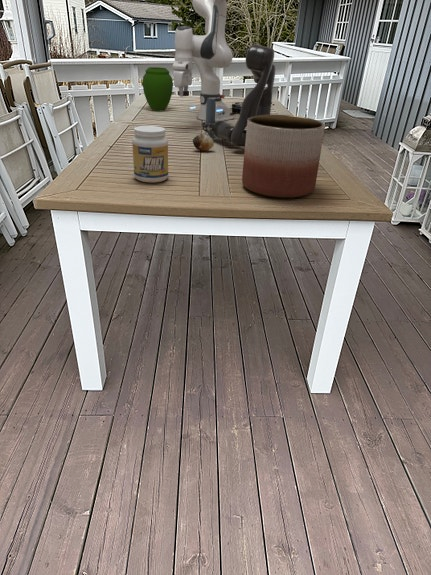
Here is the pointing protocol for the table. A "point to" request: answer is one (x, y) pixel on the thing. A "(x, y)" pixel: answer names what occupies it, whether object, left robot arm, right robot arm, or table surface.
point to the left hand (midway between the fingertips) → (183, 95)
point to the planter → (282, 155)
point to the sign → (236, 107)
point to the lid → (186, 93)
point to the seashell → (203, 142)
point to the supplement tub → (150, 154)
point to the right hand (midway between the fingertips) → (207, 123)
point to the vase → (157, 88)
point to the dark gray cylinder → (210, 113)
